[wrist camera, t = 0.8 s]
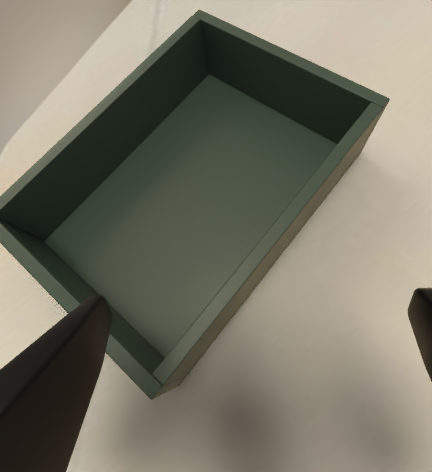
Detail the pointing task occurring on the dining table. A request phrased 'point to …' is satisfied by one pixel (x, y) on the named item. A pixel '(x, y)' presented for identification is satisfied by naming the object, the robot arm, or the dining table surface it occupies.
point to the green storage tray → (185, 190)
